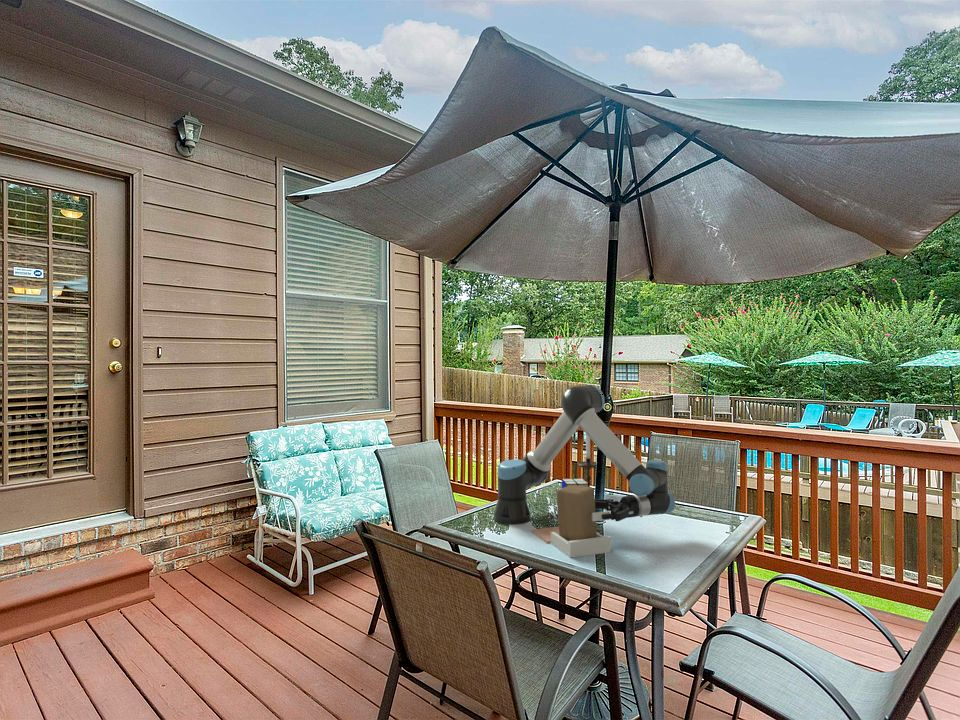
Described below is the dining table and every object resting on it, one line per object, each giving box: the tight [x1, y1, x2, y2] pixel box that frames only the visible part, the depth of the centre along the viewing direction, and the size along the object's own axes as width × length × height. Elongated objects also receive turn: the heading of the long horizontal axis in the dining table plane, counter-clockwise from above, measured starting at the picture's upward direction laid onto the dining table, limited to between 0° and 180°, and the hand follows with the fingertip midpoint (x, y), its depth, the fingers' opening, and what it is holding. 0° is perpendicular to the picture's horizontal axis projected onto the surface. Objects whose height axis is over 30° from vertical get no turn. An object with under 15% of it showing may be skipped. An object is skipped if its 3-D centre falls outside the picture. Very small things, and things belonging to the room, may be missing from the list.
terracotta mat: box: [530, 526, 559, 544], centre depth 198 cm, size 18×14×1 cm
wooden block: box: [556, 485, 598, 541], centre depth 186 cm, size 10×10×20 cm
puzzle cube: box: [561, 478, 588, 489], centre depth 242 cm, size 10×10×10 cm
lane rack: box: [550, 532, 612, 558], centre depth 184 cm, size 14×15×5 cm
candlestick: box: [576, 433, 597, 487], centre depth 260 cm, size 11×11×35 cm
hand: (581, 511), depth 186 cm, fingers open, 13 cm apart
